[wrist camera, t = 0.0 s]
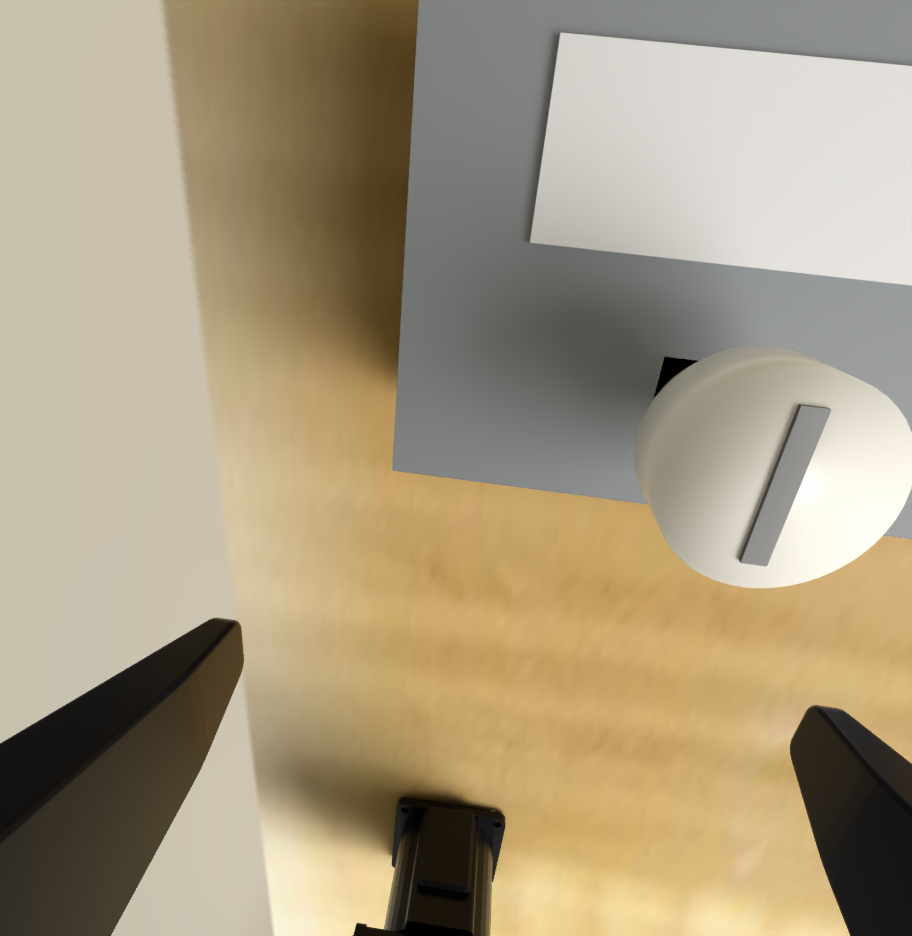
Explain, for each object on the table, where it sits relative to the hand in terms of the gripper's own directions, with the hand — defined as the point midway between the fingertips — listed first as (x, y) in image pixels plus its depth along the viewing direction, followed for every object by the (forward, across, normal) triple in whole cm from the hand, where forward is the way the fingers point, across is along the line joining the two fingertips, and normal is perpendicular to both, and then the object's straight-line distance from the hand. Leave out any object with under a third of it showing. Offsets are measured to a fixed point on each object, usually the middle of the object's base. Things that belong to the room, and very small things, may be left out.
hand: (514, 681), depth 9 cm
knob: (+9, -4, -3) cm, 10 cm away
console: (+15, -4, -6) cm, 16 cm away
